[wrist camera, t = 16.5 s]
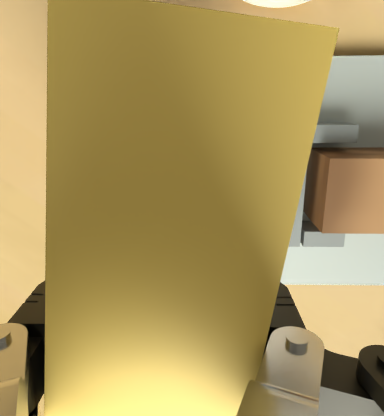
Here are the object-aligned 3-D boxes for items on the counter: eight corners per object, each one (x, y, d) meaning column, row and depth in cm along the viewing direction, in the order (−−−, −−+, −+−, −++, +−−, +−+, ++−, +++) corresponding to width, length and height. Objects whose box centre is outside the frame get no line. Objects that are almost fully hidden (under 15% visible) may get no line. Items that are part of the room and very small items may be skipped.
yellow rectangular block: (92, 423, 16) (42, 581, 11) (116, 33, 11) (47, -14, 6) (203, 436, 16) (206, 598, 11) (275, 56, 11) (339, 27, 6)
